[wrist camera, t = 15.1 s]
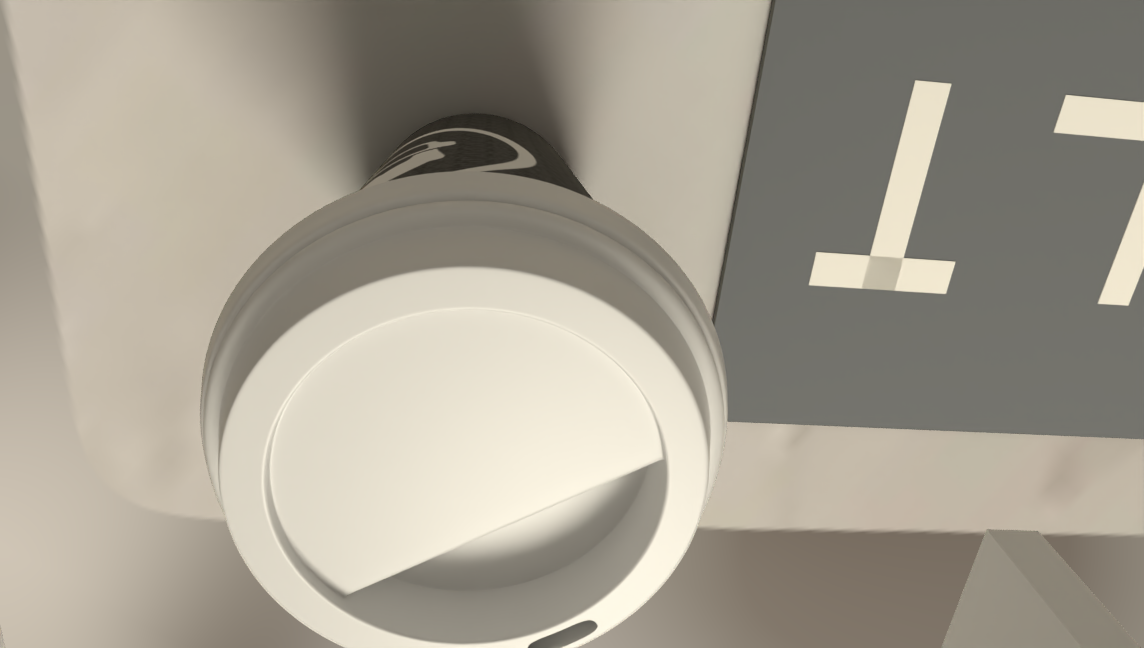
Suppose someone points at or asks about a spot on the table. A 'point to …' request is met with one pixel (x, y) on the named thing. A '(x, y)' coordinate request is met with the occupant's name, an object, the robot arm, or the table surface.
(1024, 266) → the mat
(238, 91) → the table surface
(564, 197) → the coffee cup
